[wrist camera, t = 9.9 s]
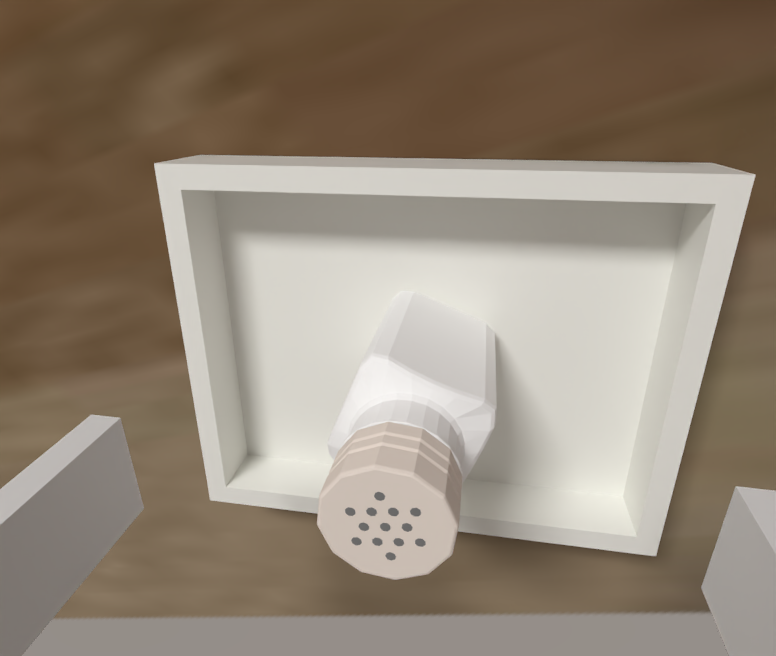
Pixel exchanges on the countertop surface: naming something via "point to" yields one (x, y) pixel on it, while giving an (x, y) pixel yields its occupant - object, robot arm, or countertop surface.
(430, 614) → the countertop surface
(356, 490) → the salt shaker
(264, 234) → the bin
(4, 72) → the countertop surface
